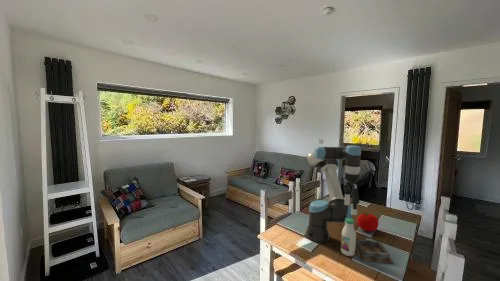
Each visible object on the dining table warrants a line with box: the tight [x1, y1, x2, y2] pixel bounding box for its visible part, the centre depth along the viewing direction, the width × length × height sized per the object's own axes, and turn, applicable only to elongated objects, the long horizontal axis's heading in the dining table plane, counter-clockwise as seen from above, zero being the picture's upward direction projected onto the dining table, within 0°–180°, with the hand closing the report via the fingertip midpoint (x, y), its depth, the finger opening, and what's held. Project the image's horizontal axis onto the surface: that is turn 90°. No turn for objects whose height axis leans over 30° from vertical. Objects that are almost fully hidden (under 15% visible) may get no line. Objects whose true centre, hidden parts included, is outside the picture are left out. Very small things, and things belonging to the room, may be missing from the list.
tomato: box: [356, 212, 379, 232], centre depth 152 cm, size 12×14×11 cm
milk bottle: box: [340, 218, 357, 257], centre depth 125 cm, size 8×8×20 cm
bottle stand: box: [355, 238, 394, 264], centre depth 125 cm, size 16×16×4 cm
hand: (350, 209), depth 123 cm, fingers open, 13 cm apart
